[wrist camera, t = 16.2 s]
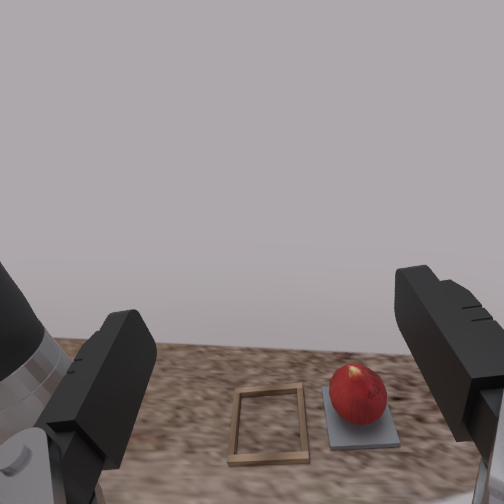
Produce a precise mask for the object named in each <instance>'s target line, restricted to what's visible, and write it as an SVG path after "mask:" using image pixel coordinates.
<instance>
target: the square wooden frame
mask: <svg viewBox="0 0 504 504" xmlns="http://www.w3.org/2000/svg"><path fill="white" fill-rule="evenodd" d="M289 393H297V396H298V410H299V424H300V437H301V451H300V452H279V453H258V454H238V455H236V452H237V441H238V430H239V419H240V408H241V397H251V396H264V395H276V394H289ZM299 463H310V458H309V447H308V436H307V425H306V414H305V403H304V392H303V385H302V383H291V384H279V385H267V386H255V387H243V388H235V392H234V401H233V410H232V419H231V428H230V437H229V446H228V455H227V464H228V465H229V466H251V465H275V464H299Z"/></svg>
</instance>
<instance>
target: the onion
mask: <svg viewBox="0 0 504 504" xmlns="http://www.w3.org/2000/svg"><path fill="white" fill-rule="evenodd" d="M329 396H330V399H331V403H332V406H333V408H334V409H335V410H336V412H337V413H338V414H339V416H340V417H342V418H343V419H345V420H346V421H348V422H349V423H353V424H358V425H366V424H371V423H373V422H374V421H376V420H378V419H379V418H380V417H381V416H382V414H383V412H384V411H385V408H386V405H387V392H386V389H385V386H384V384H383V382H382V380H381V378H380V377H379V375H377V374H376V373H375V372H373V371H372V370H371V369H369V368H367V367H365V366H363V365H360V364H348V365H344V366H343V367H341V368H339V369H338V370H336V371H335V373H334V375H333V377H332V378H331V380H330V386H329Z"/></svg>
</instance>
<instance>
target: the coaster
mask: <svg viewBox="0 0 504 504" xmlns="http://www.w3.org/2000/svg"><path fill="white" fill-rule="evenodd" d="M322 393H323V400H324V406H325V413H326V420H327V427H328V434H329V441H330V448H331V450H348V449H369V448H389V447H400V441H399V438H398V435H397V432H396V429H395V426H394V422H393V419H392V416H391V413H390V410H389V407H388V404H387V405H386V408H385V411H384V412H383V414H382V416H381V417H380V418H379V419H378V420H376V421H374V422H373V423H371V424H366V425H358V424H353V423H349V422H348V421H346V420H345V419H343V418H342V417H340V416H339V414H338V413H337V412H336V410H335V409H334V408H333V406H332V403H331V399H330V396H329V386H325V387H322Z"/></svg>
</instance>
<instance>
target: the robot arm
mask: <svg viewBox="0 0 504 504" xmlns="http://www.w3.org/2000/svg"><path fill="white" fill-rule="evenodd" d="M394 305H395V306H394V310H395V317H396V321H397V324H398V327H399V330H400V331H401V333H402V335H403V337H404V339H405V341H406V343H407V345H408V347H409V349H410V351H411V353H412V355H413V357H414V359H415V361H416V363H417V365H418V367H419V369H420V371H421V373H422V375H423V377H424V379H425V381H426V383H427V385H428V387H429V389H430V391H431V393H432V395H433V397H434V399H435V401H436V403H437V405H438V407H439V409H440V411H441V413H442V415H443V416H444V418H445V420H446V422H447V424H448V426H449V428H450V430H451V432H452V434H453V436H454V438H455V440H456V442H464V441H474V443H475V445H476V447H477V448H478V450H479V452H480V454H481V459H480V464H479V469H478V474H477V480H476V485H475V490H474V495H473V500H472V504H504V330H503V329H502V327H501V326H500V325H499V324H498V323H497V321H494V320H493V317H492V316H491V315H490V314H489V313H488V311H487V310H486V309H485V308H482V305H481V303H480V302H479V301H478V300H477V299H476V298H475V297H474V295H473V294H472V293H471V292H470V291H469V290H467V289H466V288H464V287H462V286H461V285H459V284H457V283H455V282H453V281H452V280H444V281H439V279H438V278H437V277H436V275H435V274H434V273H433V272H432V270H431V269H430V268H429V267H428V266H427V265H420V266H413V267H407V268H400V269H397V270H396V274H395V303H394ZM156 357H157V348H156V344H155V341H154V339H153V337H152V335H151V333H150V332H149V330H148V328H147V326H146V324H145V323H144V321H143V319H142V317H141V315H140V313H139V312H138V311H137V310H135V309H133V310H126V311H120V312H113V313H110V314H109V315H108V317H107V318H106V320H105V321H104V324H103V325H102V327H101V328H100V330H99V331H96V332H95V333H94V334H93V335H92V336H91V337H90V338H89V339H88V340H87V341H86V342H85V343H84V344H83V345H82V347H81V349H80V350H79V352H78V354H77V355H76V357H75V359H74V362H73V363H72V361H71V360H70V359H69V357H68V356H67V355H66V354H65V352H64V351H63V350H62V349H61V347H60V346H59V345H58V344H57V342H56V341H55V340H54V339H53V337H52V336H51V335H50V334H49V333H48V331H47V330H46V328H45V327H44V326H43V325H42V323H41V322H40V321H39V320H38V318H37V317H36V315H35V313H34V312H33V310H32V308H31V307H30V305H29V303H28V302H27V300H26V298H25V297H24V295H23V293H22V292H21V291H20V289H19V288H18V286H17V285H16V284H15V283H14V281H13V280H12V278H11V277H10V276H9V274H8V273H7V271H6V270H5V268H4V267H3V265H2V264H1V262H0V442H1V443H2V445H1V446H0V504H105V501H104V497H103V493H102V489H101V486H100V485H99V483H98V479H99V476H100V474H101V471H102V470H112V469H119V468H120V465H121V462H122V459H123V456H124V453H125V450H126V447H127V444H128V441H129V438H130V435H131V432H132V429H133V426H134V423H135V420H136V418H137V415H138V412H139V409H140V406H141V403H142V400H143V397H144V394H145V391H146V388H147V385H148V382H149V379H150V376H151V373H152V370H153V367H154V365H155V362H156Z"/></svg>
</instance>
